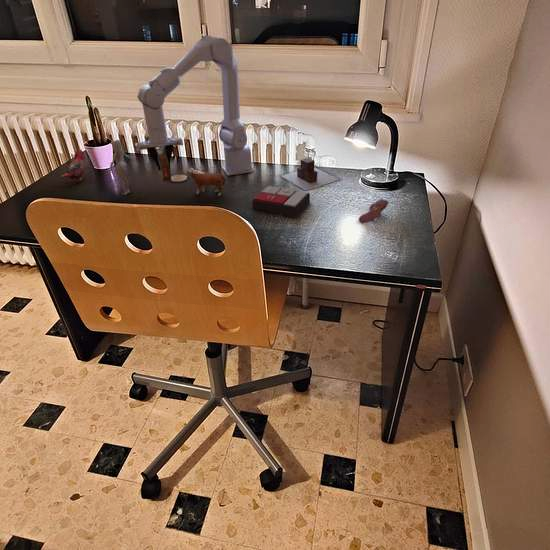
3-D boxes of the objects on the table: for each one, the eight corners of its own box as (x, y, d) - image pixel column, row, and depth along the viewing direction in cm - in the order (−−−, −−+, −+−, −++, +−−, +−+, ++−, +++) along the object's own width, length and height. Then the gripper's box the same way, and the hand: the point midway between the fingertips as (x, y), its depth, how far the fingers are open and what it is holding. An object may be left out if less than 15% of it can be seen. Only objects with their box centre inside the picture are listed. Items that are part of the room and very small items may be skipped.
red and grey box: (267, 184, 136) (310, 190, 131) (268, 196, 139) (310, 203, 133) (250, 198, 129) (295, 205, 123) (252, 210, 131) (296, 218, 125)
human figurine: (135, 185, 146) (123, 133, 135) (143, 187, 144) (132, 135, 134) (110, 200, 137) (96, 145, 126) (119, 202, 136) (105, 147, 125)
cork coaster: (185, 174, 153) (185, 173, 153) (188, 180, 149) (188, 179, 148) (169, 177, 152) (168, 175, 151) (171, 183, 147) (171, 182, 147)
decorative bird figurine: (93, 173, 155) (85, 146, 149) (69, 194, 141) (60, 166, 135) (85, 173, 155) (77, 146, 149) (61, 194, 141) (51, 165, 135)
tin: (172, 185, 134) (170, 159, 130) (162, 186, 134) (159, 160, 129) (166, 167, 146) (163, 143, 141) (157, 168, 145) (154, 144, 140)
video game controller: (368, 230, 122) (382, 214, 117) (356, 220, 123) (369, 204, 118) (381, 216, 129) (394, 200, 124) (369, 207, 129) (381, 191, 124)
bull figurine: (191, 188, 144) (188, 165, 139) (227, 192, 141) (225, 169, 136) (185, 193, 140) (182, 170, 136) (222, 198, 137) (220, 174, 132)
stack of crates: (339, 179, 148) (341, 160, 144) (305, 190, 141) (306, 171, 137) (313, 166, 158) (313, 148, 154) (280, 176, 151) (280, 157, 147)
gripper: (133, 133, 125) (142, 176, 133) (181, 128, 129) (188, 170, 137) (131, 127, 131) (140, 168, 139) (178, 121, 134) (184, 162, 142)
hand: (164, 168), depth 138 cm, fingers closed on tin, 2 cm apart
